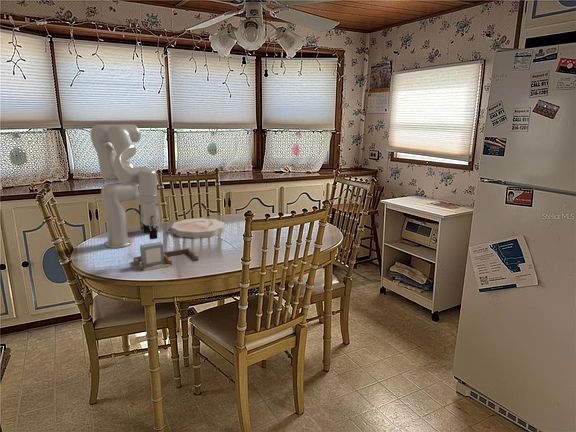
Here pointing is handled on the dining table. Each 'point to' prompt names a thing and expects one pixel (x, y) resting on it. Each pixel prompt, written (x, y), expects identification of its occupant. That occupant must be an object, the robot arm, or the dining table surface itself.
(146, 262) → the pale gray rectangular prism
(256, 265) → the dining table surface
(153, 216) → the robot arm
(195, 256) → the frame
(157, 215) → the coffee box
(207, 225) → the decorative plaque
